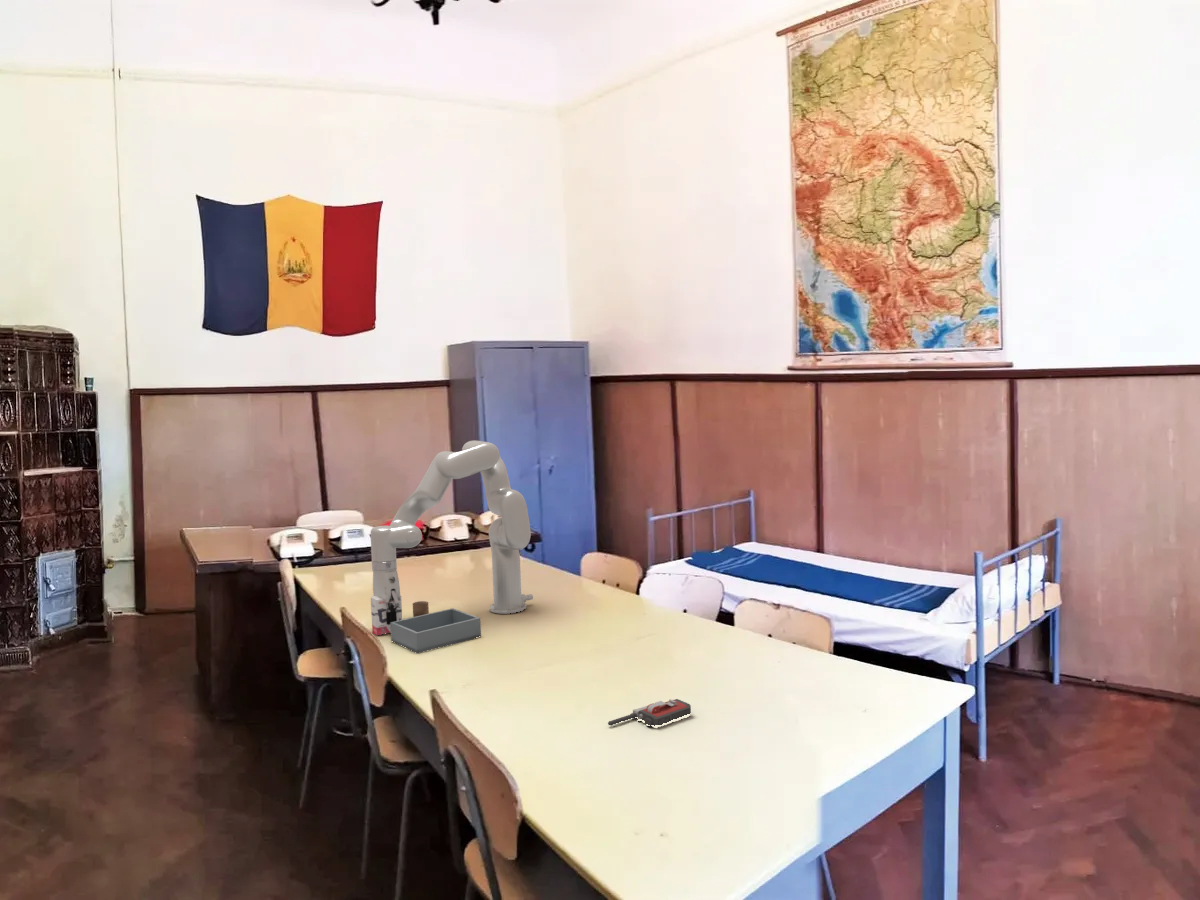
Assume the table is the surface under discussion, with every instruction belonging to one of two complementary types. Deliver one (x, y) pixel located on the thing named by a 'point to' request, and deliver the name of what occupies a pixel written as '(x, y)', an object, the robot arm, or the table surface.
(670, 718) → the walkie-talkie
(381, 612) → the ink box
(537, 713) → the table surface
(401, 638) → the tote
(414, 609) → the walnut cylinder
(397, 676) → the table surface
